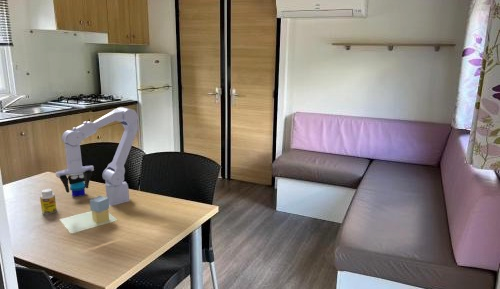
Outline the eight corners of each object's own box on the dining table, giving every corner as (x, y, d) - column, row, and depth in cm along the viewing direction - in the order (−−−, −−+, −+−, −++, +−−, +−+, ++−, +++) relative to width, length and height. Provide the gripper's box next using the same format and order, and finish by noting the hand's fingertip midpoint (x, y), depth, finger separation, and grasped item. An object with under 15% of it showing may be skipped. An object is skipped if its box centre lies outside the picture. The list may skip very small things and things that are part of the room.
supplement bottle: (43, 216, 158) (39, 193, 155) (41, 211, 162) (38, 189, 160) (57, 213, 161) (54, 191, 158) (56, 209, 165) (53, 187, 163)
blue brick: (100, 205, 156) (99, 195, 155) (109, 208, 154) (108, 198, 153) (90, 210, 152) (89, 199, 151) (99, 212, 150) (98, 202, 149)
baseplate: (103, 209, 165) (103, 207, 165) (117, 221, 154) (117, 220, 154) (59, 220, 154) (59, 219, 154) (71, 235, 142) (71, 233, 142)
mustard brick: (104, 215, 157) (103, 205, 156) (109, 219, 154) (108, 209, 153) (92, 219, 154) (91, 209, 153) (96, 223, 151) (95, 213, 149)
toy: (69, 199, 175) (65, 169, 172) (68, 193, 183) (65, 163, 179) (89, 196, 179) (86, 166, 175) (87, 190, 187) (84, 161, 183)
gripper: (88, 154, 163) (91, 183, 167) (52, 160, 154) (56, 191, 158) (94, 157, 158) (97, 187, 162) (57, 164, 149) (61, 196, 152)
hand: (77, 189), depth 159 cm, fingers open, 7 cm apart
